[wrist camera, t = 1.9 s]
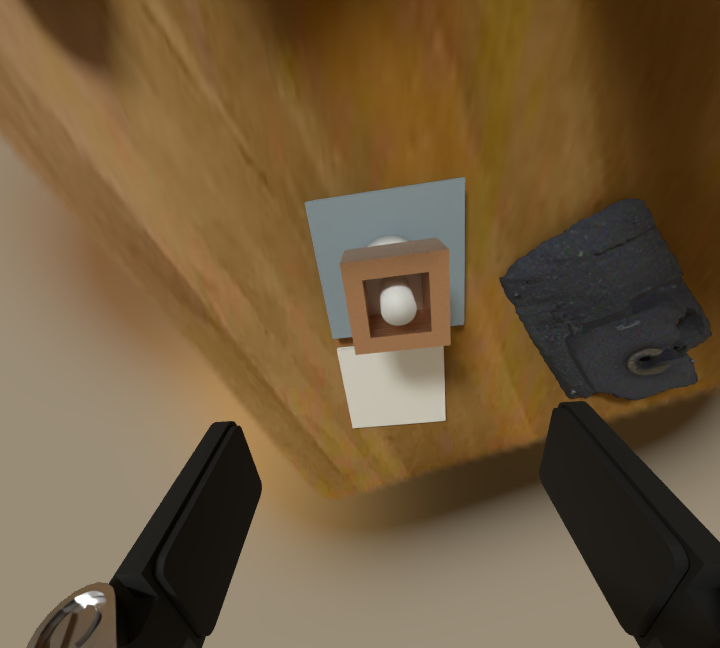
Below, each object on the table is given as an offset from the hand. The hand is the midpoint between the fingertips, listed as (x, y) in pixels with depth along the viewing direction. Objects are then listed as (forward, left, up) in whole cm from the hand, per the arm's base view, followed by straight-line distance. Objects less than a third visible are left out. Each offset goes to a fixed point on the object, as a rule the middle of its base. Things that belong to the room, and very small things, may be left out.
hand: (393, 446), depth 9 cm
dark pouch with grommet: (-23, +9, -24) cm, 35 cm away
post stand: (-1, +1, -24) cm, 24 cm away
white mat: (0, +16, -24) cm, 28 cm away
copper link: (-1, +1, -17) cm, 17 cm away
